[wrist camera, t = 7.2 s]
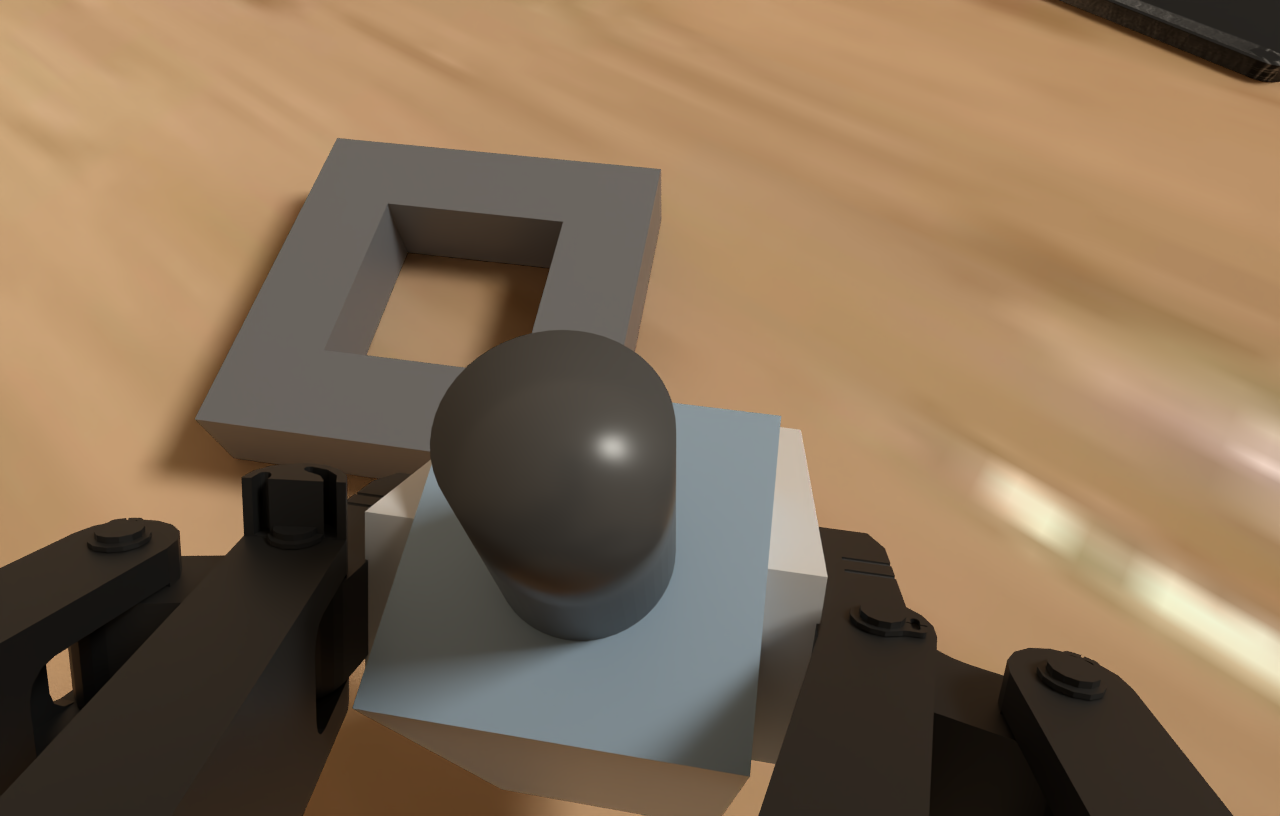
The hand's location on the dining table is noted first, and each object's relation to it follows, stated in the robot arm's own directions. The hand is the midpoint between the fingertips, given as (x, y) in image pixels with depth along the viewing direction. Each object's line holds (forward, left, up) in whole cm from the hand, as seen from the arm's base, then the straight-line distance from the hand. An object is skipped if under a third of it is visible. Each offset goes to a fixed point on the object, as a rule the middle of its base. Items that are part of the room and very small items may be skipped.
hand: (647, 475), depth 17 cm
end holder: (+8, -8, -8) cm, 14 cm away
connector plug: (0, +4, -3) cm, 5 cm away
